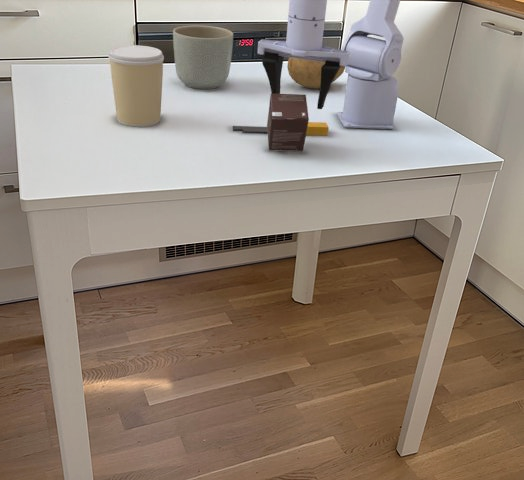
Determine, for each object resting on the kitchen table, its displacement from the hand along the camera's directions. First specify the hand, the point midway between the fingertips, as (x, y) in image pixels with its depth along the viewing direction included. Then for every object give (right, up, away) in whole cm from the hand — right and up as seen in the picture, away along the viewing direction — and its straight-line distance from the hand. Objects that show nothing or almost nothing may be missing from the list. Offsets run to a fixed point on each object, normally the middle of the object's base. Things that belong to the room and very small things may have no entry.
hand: (297, 104), depth 107 cm
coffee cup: (-28, 0, +10) cm, 30 cm away
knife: (-3, -2, +10) cm, 10 cm away
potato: (+6, +14, +36) cm, 39 cm away
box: (-2, -5, +3) cm, 6 cm away
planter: (-19, +13, +31) cm, 39 cm away
